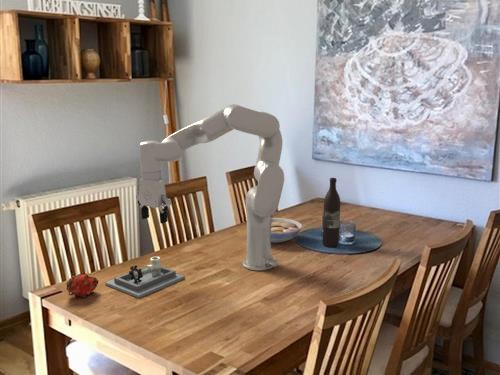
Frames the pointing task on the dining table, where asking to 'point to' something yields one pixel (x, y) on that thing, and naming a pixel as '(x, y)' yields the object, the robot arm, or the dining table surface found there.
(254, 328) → the dining table surface
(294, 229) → the ramen bowl
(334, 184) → the wine bottle
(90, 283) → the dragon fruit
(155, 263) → the valve
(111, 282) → the rimmed tray
